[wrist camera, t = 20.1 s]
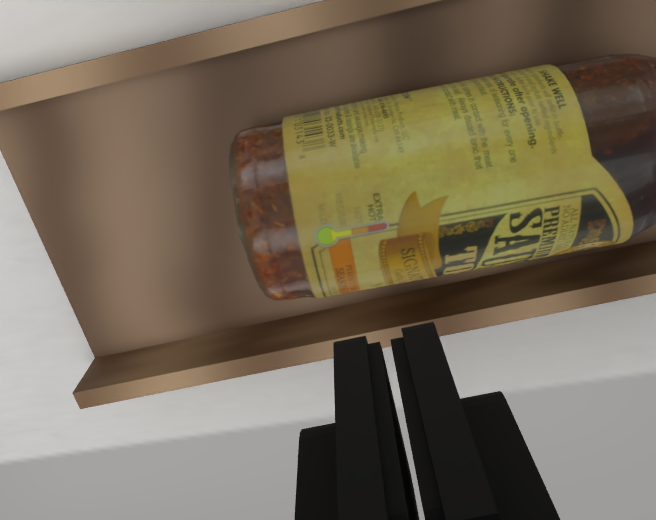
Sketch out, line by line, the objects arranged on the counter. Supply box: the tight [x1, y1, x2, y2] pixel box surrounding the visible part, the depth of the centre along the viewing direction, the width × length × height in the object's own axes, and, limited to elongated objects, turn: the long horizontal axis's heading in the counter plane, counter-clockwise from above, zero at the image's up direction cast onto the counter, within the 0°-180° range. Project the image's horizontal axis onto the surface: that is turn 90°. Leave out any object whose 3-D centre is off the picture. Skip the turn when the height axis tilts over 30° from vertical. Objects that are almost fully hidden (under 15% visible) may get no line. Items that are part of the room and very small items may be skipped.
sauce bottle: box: [229, 54, 656, 301], centre depth 20 cm, size 7×6×20 cm
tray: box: [0, 0, 656, 409], centre depth 22 cm, size 30×13×3 cm, turn 103°
